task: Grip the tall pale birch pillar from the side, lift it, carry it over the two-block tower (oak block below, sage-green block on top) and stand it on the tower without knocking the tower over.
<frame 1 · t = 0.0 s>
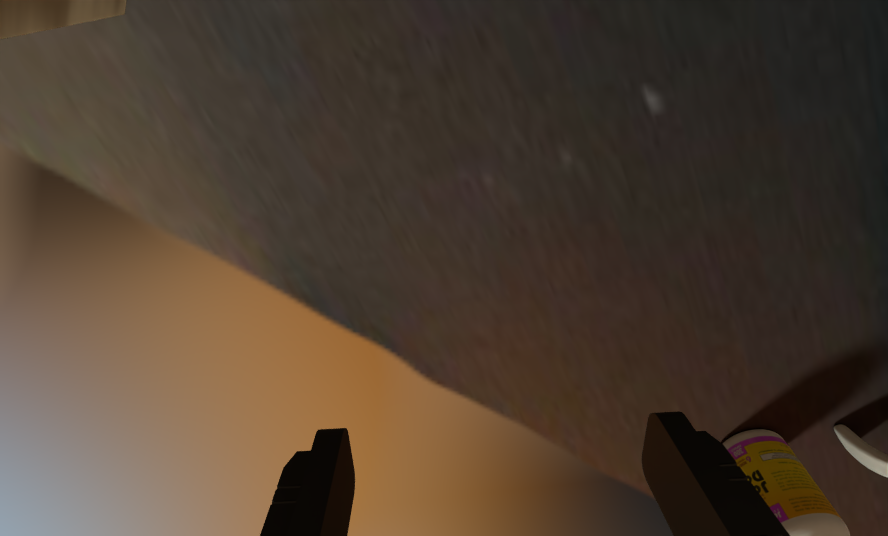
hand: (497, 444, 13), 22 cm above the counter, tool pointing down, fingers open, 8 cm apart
supplement bottle: (745, 446, 50), on the counter
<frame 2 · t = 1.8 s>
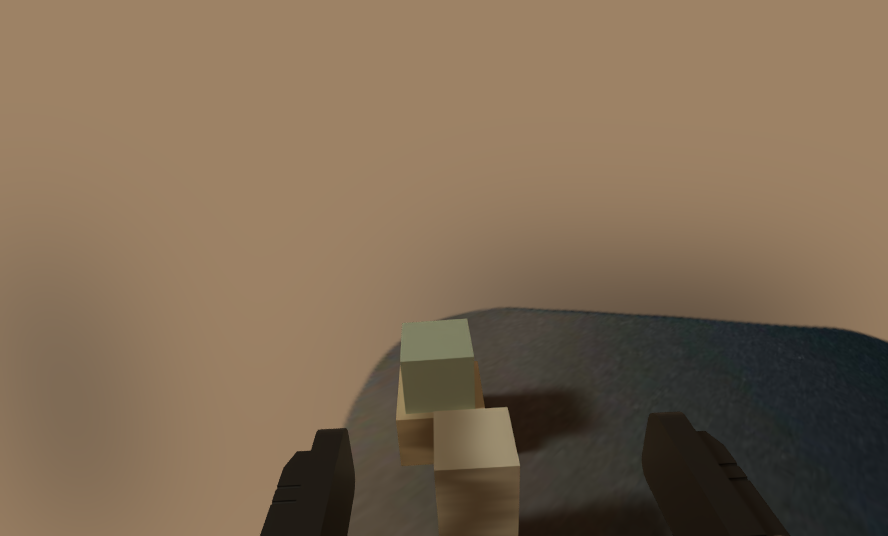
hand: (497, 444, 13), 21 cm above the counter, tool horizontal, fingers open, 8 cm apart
sage block: (439, 389, 41), point 5 cm above the counter, touching oak block
oak block: (442, 433, 43), on the counter, touching sage block
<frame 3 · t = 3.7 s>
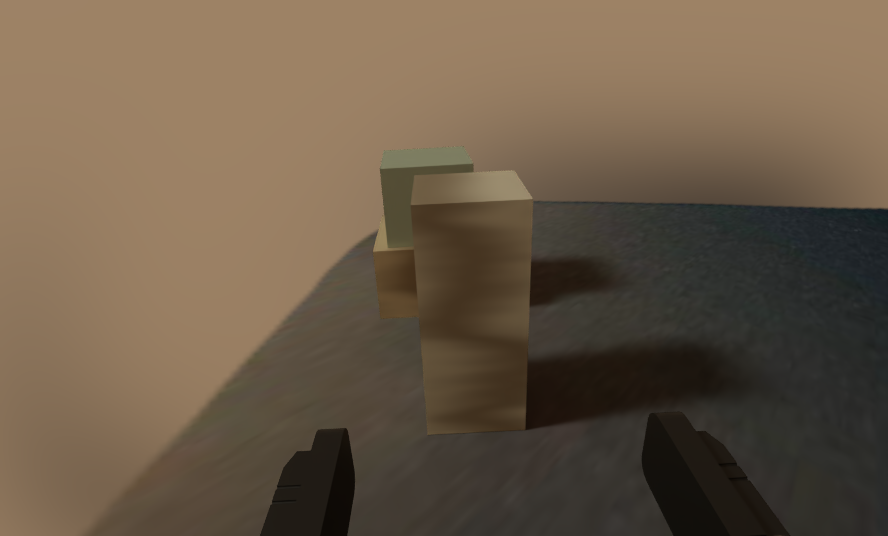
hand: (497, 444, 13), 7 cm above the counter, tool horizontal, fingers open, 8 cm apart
sage block: (429, 230, 33), point 5 cm above the counter, touching oak block
birch pillar: (472, 400, 24), on the counter
oak block: (433, 293, 36), on the counter, touching sage block
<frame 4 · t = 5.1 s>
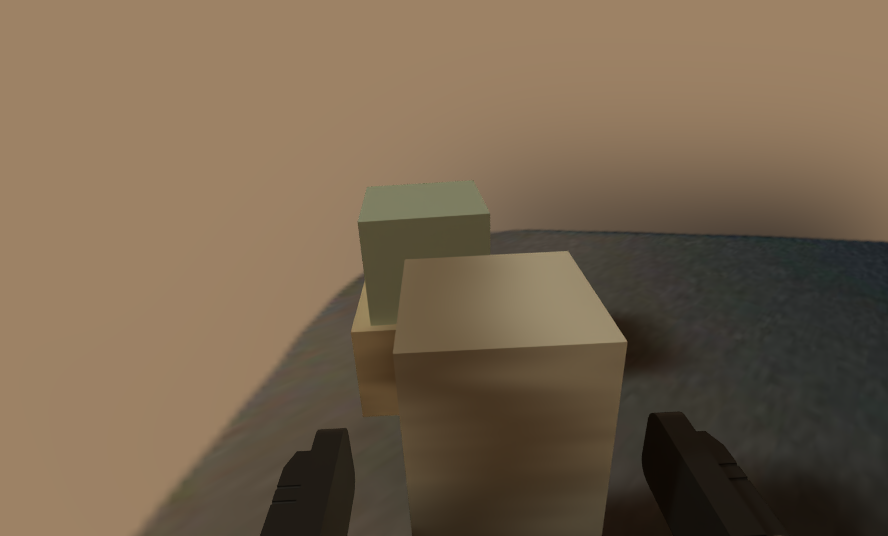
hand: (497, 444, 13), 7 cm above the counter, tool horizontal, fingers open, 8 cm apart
sage block: (428, 293, 25), point 5 cm above the counter, touching oak block
oak block: (434, 371, 27), on the counter, touching sage block
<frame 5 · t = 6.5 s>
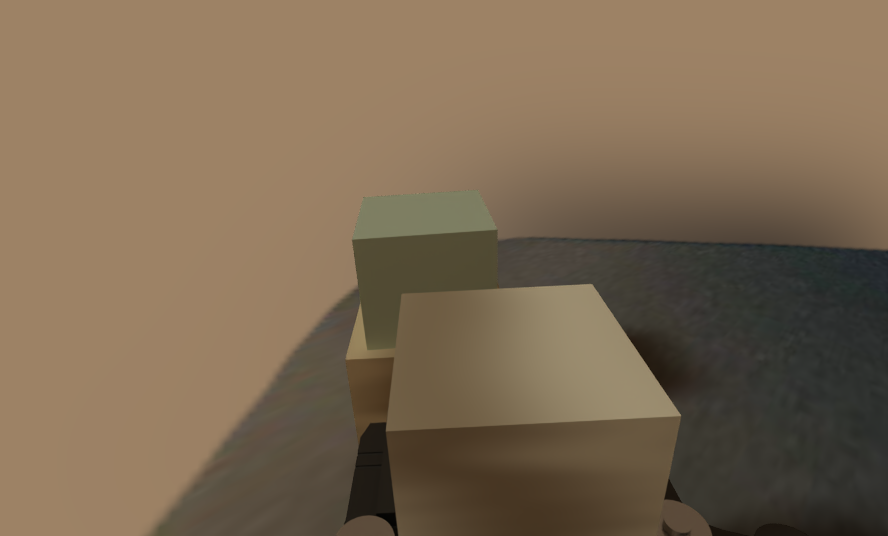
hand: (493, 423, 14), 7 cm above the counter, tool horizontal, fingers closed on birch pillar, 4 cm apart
sage block: (429, 312, 23), point 5 cm above the counter, touching oak block
oak block: (436, 396, 25), on the counter, touching sage block
when the fingers open (18 cm above the counter, at t = 10.2 s): birch pillar drops 1 cm, resting on sage block.
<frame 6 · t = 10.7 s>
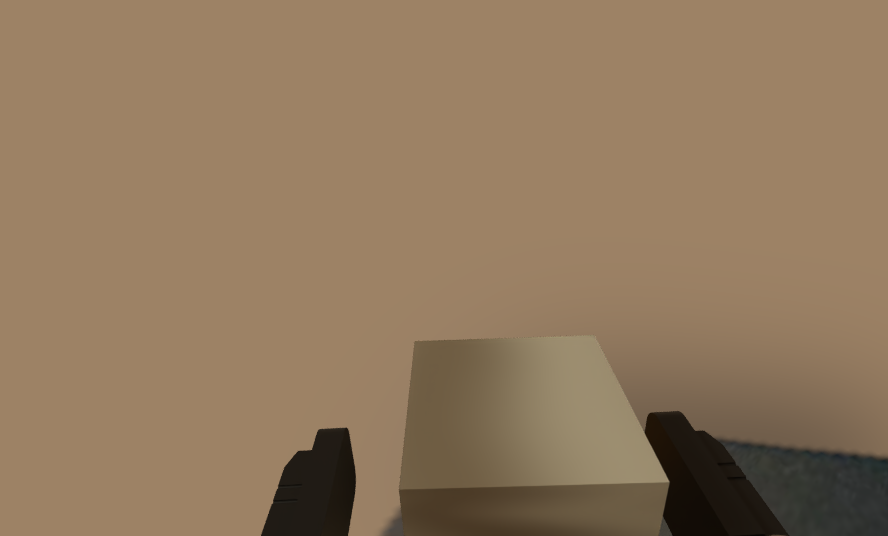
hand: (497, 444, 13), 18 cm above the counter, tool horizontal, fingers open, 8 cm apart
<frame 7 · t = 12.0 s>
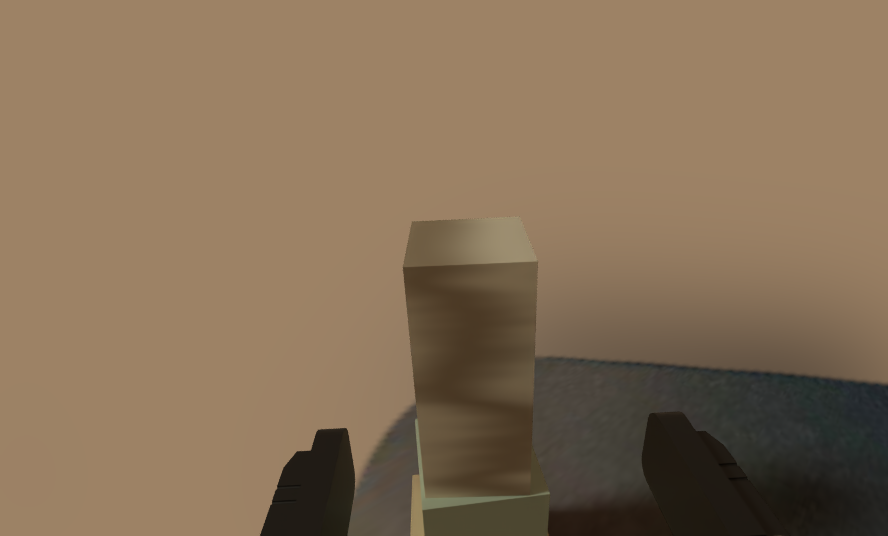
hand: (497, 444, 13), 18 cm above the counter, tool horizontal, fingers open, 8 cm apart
sage block: (477, 524, 25), point 5 cm above the counter, touching oak block
birch pillar: (474, 456, 23), point 10 cm above the counter
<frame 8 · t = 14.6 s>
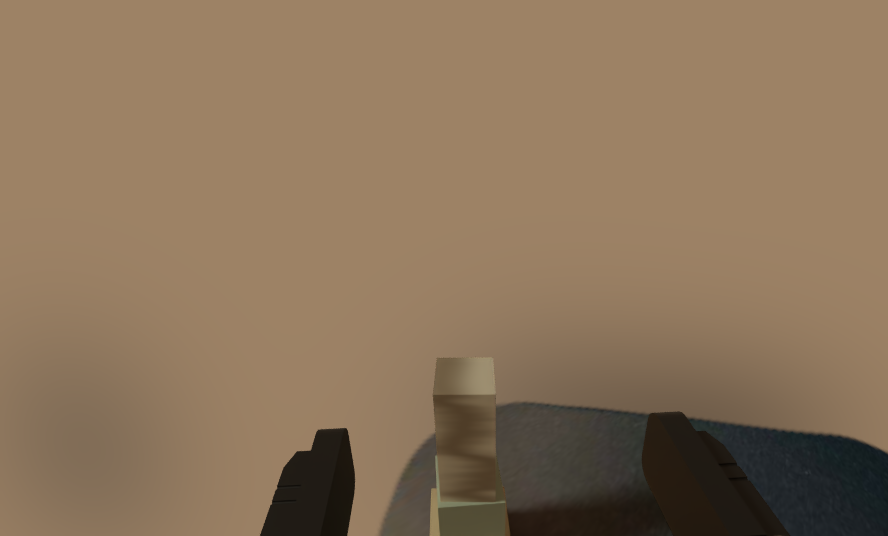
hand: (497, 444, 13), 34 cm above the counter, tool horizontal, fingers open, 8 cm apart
sage block: (469, 518, 44), point 5 cm above the counter, touching oak block
birch pillar: (468, 479, 42), point 10 cm above the counter
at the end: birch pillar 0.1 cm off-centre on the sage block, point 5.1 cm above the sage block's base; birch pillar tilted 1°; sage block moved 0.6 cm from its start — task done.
